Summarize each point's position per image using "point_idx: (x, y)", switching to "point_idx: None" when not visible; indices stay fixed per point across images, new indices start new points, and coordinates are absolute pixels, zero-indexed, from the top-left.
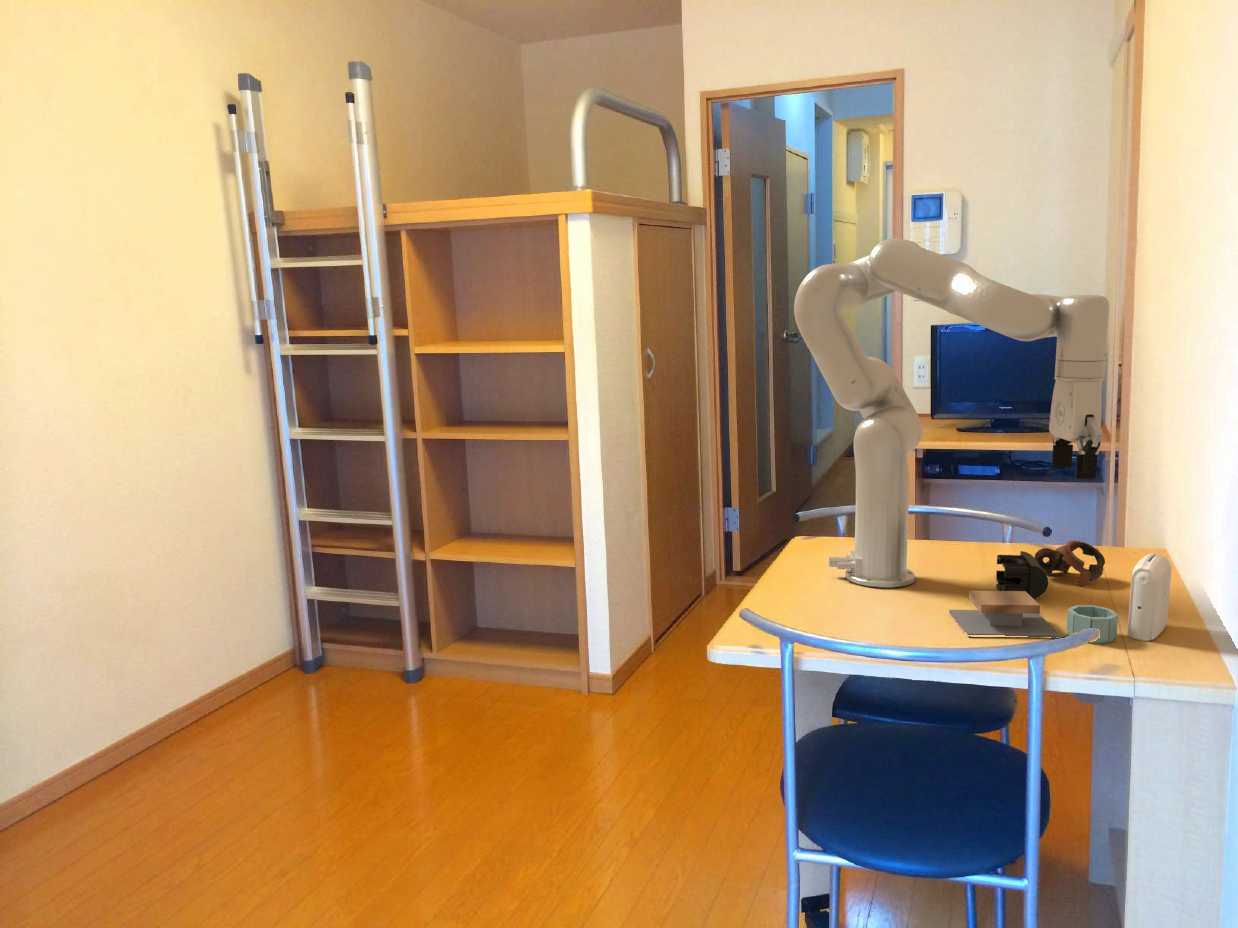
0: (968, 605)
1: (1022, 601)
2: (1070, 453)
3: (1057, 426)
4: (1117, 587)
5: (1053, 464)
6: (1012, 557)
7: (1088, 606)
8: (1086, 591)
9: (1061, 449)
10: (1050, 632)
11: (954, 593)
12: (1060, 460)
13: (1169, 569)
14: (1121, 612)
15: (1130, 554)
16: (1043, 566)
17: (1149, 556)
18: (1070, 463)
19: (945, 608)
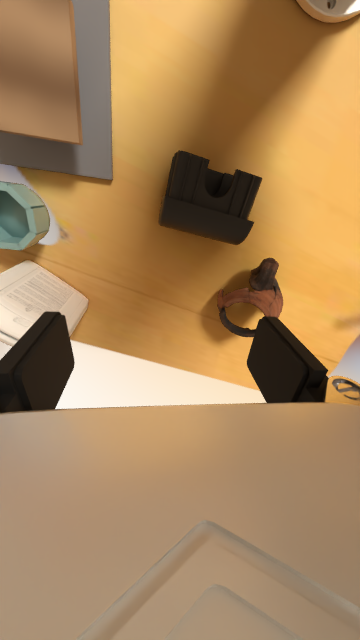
0: (155, 73)
1: (8, 100)
2: (266, 395)
3: (248, 502)
4: (209, 326)
5: (269, 321)
6: (233, 195)
7: (30, 224)
8: (200, 290)
9: (286, 381)
10: (4, 151)
11: (222, 79)
12: (264, 349)
13: None
14: (122, 292)
15: None
16: (260, 266)
17: (1, 330)
18: (250, 369)
19: (138, 3)
